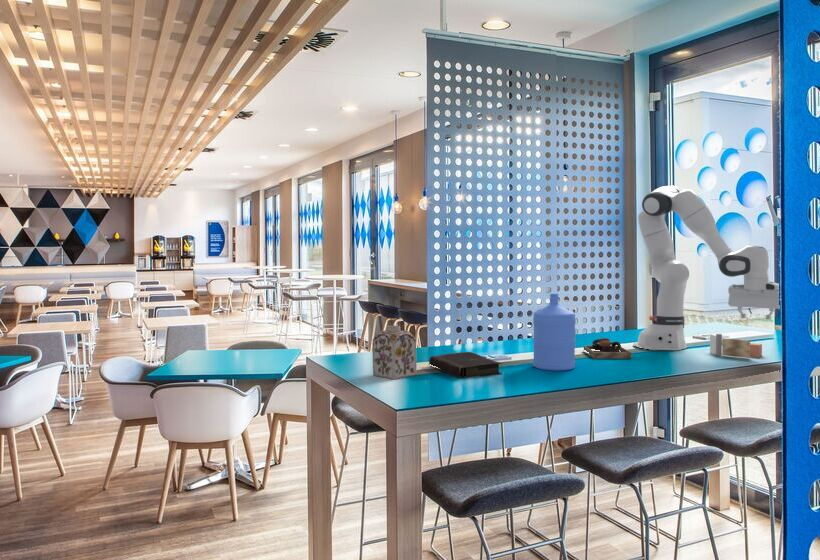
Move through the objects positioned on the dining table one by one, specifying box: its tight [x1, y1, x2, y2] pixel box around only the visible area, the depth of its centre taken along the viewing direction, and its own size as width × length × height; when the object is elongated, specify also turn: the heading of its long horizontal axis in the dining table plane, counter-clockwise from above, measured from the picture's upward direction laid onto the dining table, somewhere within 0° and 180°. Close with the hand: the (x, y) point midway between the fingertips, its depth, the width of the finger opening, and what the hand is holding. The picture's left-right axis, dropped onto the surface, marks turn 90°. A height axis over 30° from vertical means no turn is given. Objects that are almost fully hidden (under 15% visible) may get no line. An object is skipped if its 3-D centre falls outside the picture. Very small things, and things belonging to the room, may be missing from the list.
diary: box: [428, 351, 503, 379], centre depth 237 cm, size 19×25×5 cm
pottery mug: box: [591, 337, 622, 352], centre depth 266 cm, size 12×10×8 cm
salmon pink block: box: [750, 342, 763, 358], centre depth 260 cm, size 4×4×5 cm
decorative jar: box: [372, 325, 418, 381], centre depth 229 cm, size 12×12×18 cm
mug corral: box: [583, 345, 633, 360], centre depth 266 cm, size 15×17×2 cm
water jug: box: [532, 293, 576, 372], centre depth 241 cm, size 16×16×28 cm
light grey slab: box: [709, 333, 723, 357], centre depth 264 cm, size 2×8×9 cm, turn 178°
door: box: [722, 337, 751, 359], centre depth 257 cm, size 10×2×7 cm, turn 48°
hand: (755, 318), depth 259 cm, fingers open, 8 cm apart
